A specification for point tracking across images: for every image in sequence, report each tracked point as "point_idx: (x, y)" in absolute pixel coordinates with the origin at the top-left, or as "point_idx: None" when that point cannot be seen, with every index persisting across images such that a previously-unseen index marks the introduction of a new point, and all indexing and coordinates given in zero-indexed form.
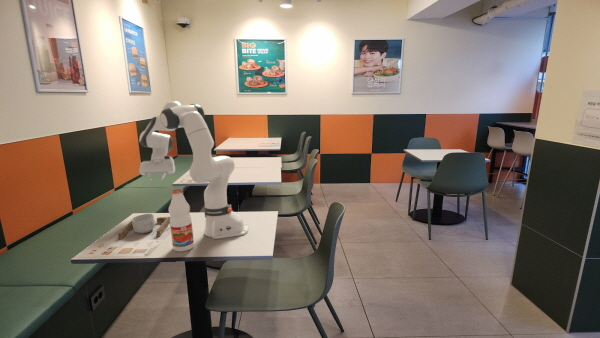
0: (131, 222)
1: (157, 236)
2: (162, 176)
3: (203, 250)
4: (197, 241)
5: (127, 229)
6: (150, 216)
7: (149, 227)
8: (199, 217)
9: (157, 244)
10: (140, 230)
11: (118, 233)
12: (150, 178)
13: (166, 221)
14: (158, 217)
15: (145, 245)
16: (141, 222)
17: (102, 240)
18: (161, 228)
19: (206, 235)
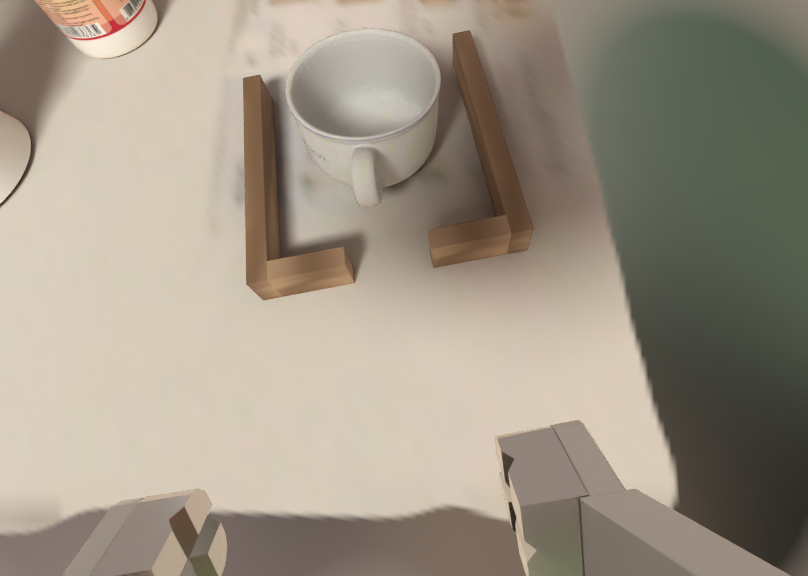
0: (500, 170)
1: (271, 101)
2: (75, 568)
3: (40, 20)
4: (65, 77)
5: (471, 108)
6: (336, 145)
7: (319, 103)
8: (64, 388)
9: (240, 38)
10: (366, 86)
11: (469, 32)
12: (510, 443)
13: (245, 198)
14: (335, 266)
15: (293, 26)
16: (342, 43)
17: (554, 42)
18: (244, 107)
19: (20, 122)
